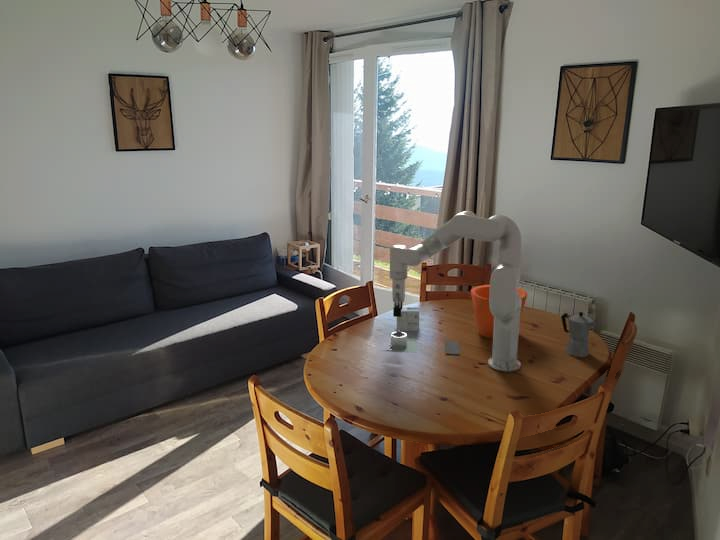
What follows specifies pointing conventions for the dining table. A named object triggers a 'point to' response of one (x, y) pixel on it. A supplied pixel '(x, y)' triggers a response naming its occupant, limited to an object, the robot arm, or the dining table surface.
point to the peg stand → (409, 347)
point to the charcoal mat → (452, 347)
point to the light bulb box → (408, 319)
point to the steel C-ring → (399, 340)
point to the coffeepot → (578, 334)
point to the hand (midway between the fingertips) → (397, 312)
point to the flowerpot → (487, 309)
